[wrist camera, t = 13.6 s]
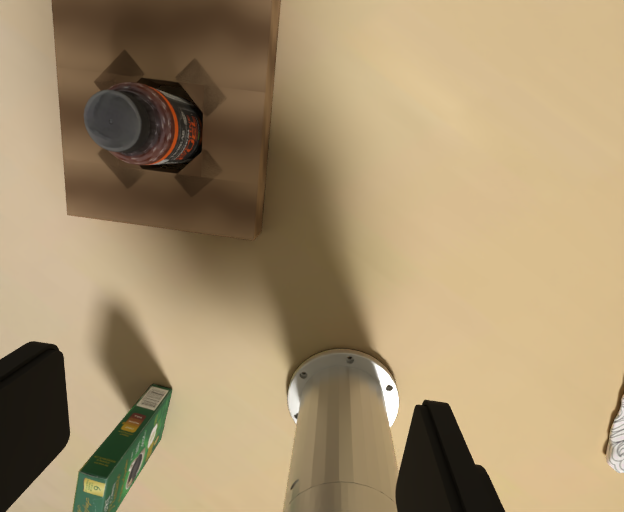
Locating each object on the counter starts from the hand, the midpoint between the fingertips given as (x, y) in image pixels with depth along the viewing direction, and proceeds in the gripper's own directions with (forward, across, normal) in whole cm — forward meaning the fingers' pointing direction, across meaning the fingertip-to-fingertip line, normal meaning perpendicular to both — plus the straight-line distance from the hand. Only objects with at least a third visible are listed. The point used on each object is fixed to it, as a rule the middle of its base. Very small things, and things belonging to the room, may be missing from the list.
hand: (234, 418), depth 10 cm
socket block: (+28, +14, -8) cm, 33 cm away
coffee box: (+28, +16, +26) cm, 42 cm away
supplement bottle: (+28, +14, -7) cm, 32 cm away
